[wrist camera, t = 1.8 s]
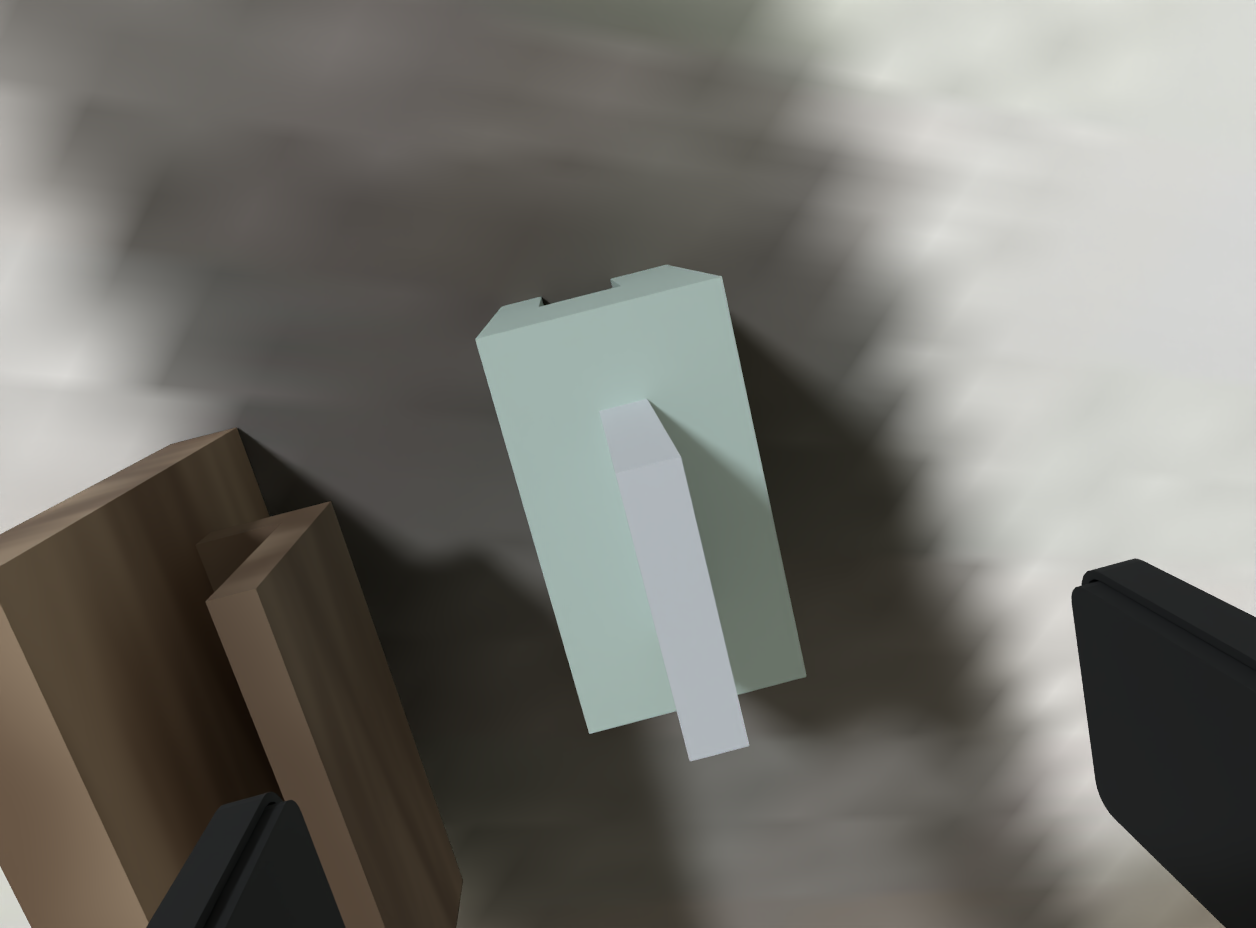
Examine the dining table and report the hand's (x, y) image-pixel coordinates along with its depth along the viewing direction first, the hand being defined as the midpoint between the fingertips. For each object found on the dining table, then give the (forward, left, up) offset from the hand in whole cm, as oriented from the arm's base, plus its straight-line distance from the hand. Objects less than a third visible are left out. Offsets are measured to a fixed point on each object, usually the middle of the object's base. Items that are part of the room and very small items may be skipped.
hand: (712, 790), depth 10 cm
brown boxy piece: (+13, +5, -18) cm, 22 cm away
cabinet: (0, 0, -18) cm, 18 cm away
